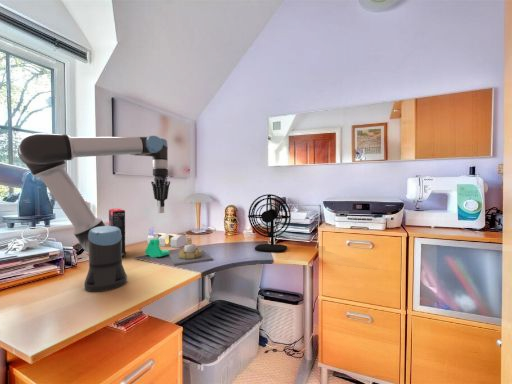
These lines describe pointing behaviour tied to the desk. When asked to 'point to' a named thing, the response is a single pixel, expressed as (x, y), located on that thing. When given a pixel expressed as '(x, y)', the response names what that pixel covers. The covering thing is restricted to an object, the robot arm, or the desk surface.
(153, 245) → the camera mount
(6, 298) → the desk surface
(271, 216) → the desk fan
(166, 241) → the diorama
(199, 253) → the olive castle ruin model
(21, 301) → the desk surface
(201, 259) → the cap base
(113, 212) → the graphics card box
